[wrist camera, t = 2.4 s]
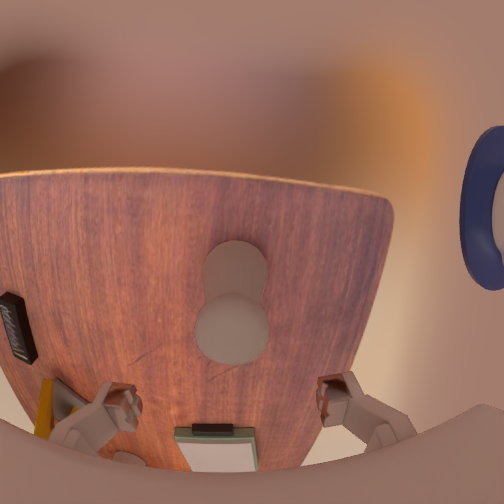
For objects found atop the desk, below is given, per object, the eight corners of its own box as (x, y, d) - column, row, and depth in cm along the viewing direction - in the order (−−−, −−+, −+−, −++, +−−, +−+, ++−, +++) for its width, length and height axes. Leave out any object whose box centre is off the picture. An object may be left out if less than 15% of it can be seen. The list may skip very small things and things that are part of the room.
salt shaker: (253, 298, 28) (260, 391, 15) (199, 280, 27) (169, 366, 15) (275, 245, 26) (302, 315, 14) (217, 225, 25) (193, 281, 13)
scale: (253, 422, 34) (253, 437, 31) (258, 461, 38) (258, 473, 35) (173, 422, 34) (170, 436, 31) (192, 461, 38) (190, 472, 35)
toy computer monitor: (54, 364, 31) (5, 432, 16) (96, 390, 32) (57, 468, 17) (54, 418, 36) (25, 472, 21) (86, 438, 37) (63, 495, 22)
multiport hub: (23, 298, 27) (14, 305, 25) (38, 358, 30) (31, 366, 28) (5, 291, 27) (-4, 297, 25) (21, 349, 30) (14, 356, 28)
